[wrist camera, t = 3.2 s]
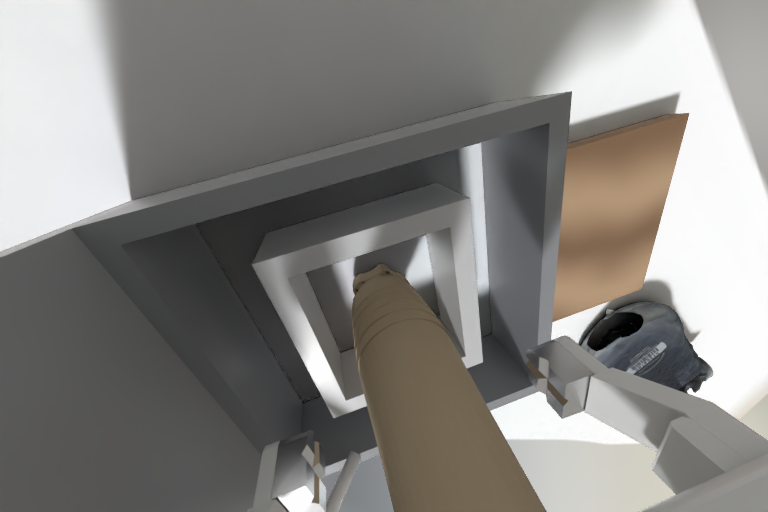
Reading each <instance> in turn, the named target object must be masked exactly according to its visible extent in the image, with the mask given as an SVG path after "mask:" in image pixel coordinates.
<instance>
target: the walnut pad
mask: <svg viewBox="0 0 768 512" xmlns="http://www.w3.org/2000/svg"><path fill="white" fill-rule="evenodd" d="M688 116H689V113H684V114H667V115H664V116H660V117H657V118H654V119H650V120H647V121H643V122H640V123H637V124H633V125H630V126H627V127H623V128H620V129H616V130H613V131H610V132H606V133H603V134H600V135H596V136H593V137H589V138H586V139H583V140H579V141H576V142H572V143H569V144H567V156H566V167H565V179H564V191H563V202H562V214H561V226H560V237H559V249H558V261H557V272H556V284H555V296H554V307H553V319H552V322H554V321H557V320H559V319H562V318H565V317H568V316H570V315H573V314H576V313H578V312H581V311H584V310H586V309H589V308H592V307H595V306H597V305H600V304H603V303H605V302H608V301H611V300H614V299H616V298H619V297H622V296H624V295H627V294H630V293H632V292H635V291H638V290H641V289H642V286H643V283H644V279H645V275H646V272H647V268H648V264H649V261H650V257H651V253H652V249H653V246H654V242H655V238H656V235H657V231H658V227H659V224H660V220H661V216H662V213H663V209H664V205H665V201H666V198H667V194H668V190H669V187H670V183H671V179H672V176H673V172H674V168H675V165H676V161H677V157H678V153H679V150H680V146H681V142H682V139H683V135H684V131H685V128H686V124H687V120H688Z"/></svg>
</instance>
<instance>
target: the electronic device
mask: <svg viewBox="0 0 768 512" xmlns="http://www.w3.org/2000/svg"><path fill="white" fill-rule="evenodd" d="M618 312H634V313H637V314H640V315H642V317H643V320H644V322H643V325H642V327H641V328H640V329H639V330H638V331H637V332H636V330H637V328H636V329H635V326H634V324H630V322H629V323H623V324H620V325H618V326H616V327H615V328H612V329H610V330H609V331H608V333H607V334H606V335H604V336H603V337H602V340H601V342H600V343H599V344H598V347H597V350H598V351H595V350H593V349H591V348H590V347H589V346H588V345H587V342H588V339H589V337H590V335H591V333H592V332H593V330H594V329H595V328H596V327H597V325H598V324H599V323H601V322H602V321H604V320H606V319H608V318H610V317H612V316H613V315H614V314H615V313H618ZM606 314H607V315H606V317H605V318H604V319H603V320H601V321H600V322H599V323H598V324H597V325H596V326H595V327H594V328H592V330H591V331H590V332H589V333H588V335H587V336H586V338H585V339H584V341H583V342H582V345H581V347H582V348H583V349H585V350H586V351H587V352H588V353H590V354H591V355H592V356H593V357H595V358H596V359H597V360H598V361H600V362H601V363H602V364H603V365H605V366H606V367H607V368H608V369H609V368H615V369H618V370H621V371H624V372H627V373H630V374H633V375H635V376H638V377H641V378H644V379H647V380H650V381H653V382H655V383H658V384H661V385H664V386H667V387H670V388H673V389H675V390H678V391H681V392H684V393H687V390H688V389H689V388H692V390H693V392H695V393H696V392H697V391H698V390H699V389H700V386H701V384H702V382H703V381H706V380H707V379H708V378H710V377H712V376H713V370H712V368H711V367H710V366H709V365H708V364H707V363H706V362H705V361H704V360H703V359H701V358H700V357H698V355H697V353H696V352H695V351H694V350H693V346H692V344H690V343H689V341H688V339H687V338H686V336H685V334H684V331H683V325H682V322H681V320H680V318H679V316H678V314H677V313H676V312H675V311H674V310H673V309H672V308H671V307H670V306H666V305H664V304H659V303H655V302H636V303H633V304H630V305H627V306H624V307H622V308H619V309H617V310H616V311H614V310H611V309H608V308H607V311H606ZM622 329H628V330H629V331H630V335H629V336H627V337H626V336H624V337H623V338H622V336H623V335H624V334H622V335H620V334H618V335H617V336H616V338H614V339H613V340H611V341H610V342H609V343H608V346H607V347H605V344H606V341H607V338H608V337H609V336H610V335H611V334H612V333H613V332H614V331H615V332H616V331H620V330H622ZM687 394H688V393H687Z"/></svg>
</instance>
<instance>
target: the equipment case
mask: <svg viewBox="0 0 768 512" xmlns="http://www.w3.org/2000/svg"><path fill="white" fill-rule="evenodd" d="M571 97H572V91H571V92H564V93H557V94H550V95H543V96H536V97H529V98H523V99H516V100H509V101H502V102H495V103H491V104H487V105H484V106H480V107H476V108H473V109H469V110H465V111H461V112H458V113H454V114H450V115H447V116H443V117H439V118H435V119H432V120H428V121H424V122H421V123H417V124H413V125H410V126H406V127H402V128H398V129H395V130H391V131H387V132H384V133H380V134H376V135H373V136H369V137H365V138H361V139H358V140H354V141H350V142H347V143H343V144H339V145H335V146H332V147H328V148H324V149H321V150H317V151H313V152H310V153H306V154H302V155H298V156H295V157H291V158H287V159H284V160H280V161H276V162H272V163H269V164H265V165H261V166H258V167H254V168H250V169H247V170H243V171H239V172H235V173H232V174H228V175H224V176H221V177H217V178H213V179H209V180H206V181H202V182H198V183H195V184H191V185H187V186H184V187H180V188H176V189H172V190H169V191H165V192H161V193H158V194H154V195H150V196H147V197H143V198H139V199H135V200H132V201H129V202H126V203H124V204H121V205H119V206H116V207H113V208H111V209H108V210H106V211H103V212H101V213H98V214H96V215H93V216H90V217H88V218H85V219H83V220H80V221H78V222H75V223H73V224H70V225H67V226H65V227H62V228H60V229H57V230H55V231H52V232H50V233H47V234H44V235H42V236H39V237H37V238H34V239H32V240H29V241H27V242H24V243H21V244H19V245H16V246H14V247H11V248H9V249H6V250H4V251H1V252H0V512H247V510H248V509H250V508H253V503H254V497H255V491H256V486H257V480H258V474H259V469H260V463H261V457H262V452H263V450H264V448H265V446H267V445H269V444H272V443H275V442H277V441H280V440H283V439H286V438H289V437H292V436H295V435H298V434H300V433H303V432H306V431H309V430H312V432H313V433H314V435H315V441H316V442H319V443H320V445H321V447H322V449H323V452H324V458H325V470H326V473H325V475H324V476H326V475H329V474H331V473H334V472H337V471H339V470H341V473H340V475H339V477H338V479H337V481H336V483H335V485H334V487H333V489H332V492H331V494H330V496H329V498H328V500H327V502H326V512H338V511H339V509H340V506H341V504H342V502H343V499H344V497H345V495H346V493H347V490H348V488H349V486H350V483H351V481H352V479H353V476H354V474H355V472H356V470H357V467H358V465H359V463H360V462H362V461H364V460H367V459H369V458H372V457H374V456H377V455H379V454H380V453H379V450H378V446H377V442H376V438H375V434H374V431H373V427H372V423H371V419H370V415H369V411H368V408H367V404H366V400H365V396H364V392H363V389H362V385H361V381H360V376H359V371H358V365H357V360H356V354H355V348H353V349H350V350H347V351H345V352H342V353H340V351H339V348H338V346H337V344H336V342H335V339H334V337H333V335H332V332H331V330H330V328H329V325H328V323H327V321H326V318H325V316H324V314H323V311H322V309H321V307H320V304H319V302H318V300H317V298H316V295H315V293H314V291H313V288H312V286H311V284H310V281H309V279H308V277H307V274H306V272H309V271H312V270H316V269H319V268H322V267H325V266H328V265H331V264H335V263H338V262H341V261H344V260H347V259H350V258H354V257H357V256H360V255H363V254H366V253H369V252H373V251H376V250H379V249H382V248H385V247H388V246H392V245H395V244H398V243H401V242H404V241H407V240H411V239H414V238H417V237H420V236H423V235H426V237H427V243H428V248H429V254H430V260H431V266H432V272H433V278H434V284H435V290H436V295H437V301H438V307H439V313H440V318H439V319H438V320H439V321H440V323H441V324H442V326H443V327H444V329H445V330H446V332H447V334H448V335H449V337H450V338H451V340H452V342H453V344H454V346H455V348H456V349H457V351H458V353H459V355H460V357H461V359H462V361H463V362H464V364H465V366H466V368H467V370H468V372H469V373H470V375H471V377H472V379H473V381H474V383H475V385H476V386H477V388H478V390H479V392H480V394H481V396H482V397H483V399H484V401H485V403H486V405H487V407H488V409H489V410H493V409H496V408H498V407H501V406H503V405H506V404H508V403H511V402H513V401H516V400H518V399H521V398H523V397H526V396H528V395H531V394H533V393H536V392H538V390H537V389H536V388H535V387H534V385H533V384H532V383H531V381H530V379H529V377H528V375H527V372H526V364H527V362H528V361H529V359H528V358H527V357H526V351H527V350H528V349H529V348H532V347H535V346H537V345H540V344H542V343H545V342H547V341H550V340H551V331H552V319H553V307H554V296H555V284H556V272H557V261H558V249H559V237H560V226H561V214H562V202H563V191H564V179H565V167H566V156H567V144H568V132H569V121H570V109H571ZM480 142H481V144H482V162H483V181H484V199H485V217H486V236H487V254H488V272H489V291H490V309H491V327H492V334H491V335H488V336H485V337H482V338H481V331H480V318H479V306H478V294H477V281H476V269H475V256H474V244H473V232H472V219H471V207H470V198H469V197H467V196H464V195H462V194H460V193H458V192H455V191H453V190H451V189H449V188H446V187H444V186H442V185H440V184H437V183H434V184H431V185H427V186H424V187H420V188H417V189H414V190H410V191H407V192H404V193H400V194H397V195H393V196H390V197H387V198H383V199H380V200H376V201H373V202H370V203H366V204H363V205H360V206H356V207H353V208H349V209H346V210H343V211H339V212H336V213H333V214H329V215H326V216H322V217H319V218H316V219H312V220H309V221H306V222H302V223H299V224H295V225H292V226H289V227H285V228H282V229H278V230H275V231H272V232H268V233H266V235H265V237H264V239H263V241H262V243H261V245H260V247H259V250H258V252H257V254H256V256H255V258H254V260H253V262H252V267H253V269H254V270H255V272H256V274H257V276H258V278H259V280H260V282H261V284H262V285H263V287H264V289H265V291H266V293H267V295H268V297H269V298H270V300H271V302H272V304H273V306H274V308H275V310H276V312H277V313H278V315H279V317H280V319H281V321H282V323H283V325H284V327H285V328H286V330H287V332H288V334H289V336H290V338H291V340H292V341H293V343H294V345H295V347H296V349H297V351H298V353H299V355H300V356H301V358H302V360H303V362H304V364H305V366H306V368H307V369H308V371H309V373H310V375H311V377H312V379H313V381H314V383H315V384H316V386H317V388H318V390H319V392H320V394H321V397H318V398H315V399H313V400H310V401H307V402H304V403H302V401H301V400H300V398H299V396H298V395H297V393H296V391H295V390H294V388H293V386H292V385H291V383H290V381H289V380H288V378H287V376H286V375H285V373H284V371H283V370H282V368H281V366H280V365H279V363H278V361H277V360H276V358H275V356H274V355H273V353H272V351H271V350H270V348H269V346H268V345H267V343H266V341H265V340H264V338H263V336H262V335H261V333H260V331H259V330H258V328H257V326H256V325H255V323H254V321H253V320H252V318H251V316H250V315H249V313H248V311H247V310H246V308H245V306H244V305H243V303H242V301H241V300H240V298H239V296H238V295H237V293H236V291H235V290H234V288H233V286H232V285H231V283H230V281H229V280H228V278H227V276H226V275H225V273H224V271H223V270H222V268H221V266H220V265H219V263H218V261H217V260H216V258H215V256H214V255H213V253H212V251H211V250H210V248H209V246H208V245H207V243H206V241H205V240H204V238H203V236H202V235H201V233H200V231H199V230H198V228H197V226H196V225H195V224H196V223H200V222H203V221H207V220H210V219H214V218H217V217H221V216H224V215H228V214H231V213H235V212H238V211H242V210H245V209H249V208H252V207H256V206H259V205H263V204H266V203H270V202H273V201H277V200H280V199H284V198H287V197H291V196H294V195H298V194H301V193H305V192H308V191H312V190H315V189H319V188H322V187H326V186H329V185H333V184H336V183H340V182H343V181H347V180H351V179H354V178H358V177H361V176H365V175H368V174H372V173H375V172H379V171H382V170H386V169H389V168H393V167H396V166H400V165H403V164H407V163H410V162H414V161H417V160H421V159H424V158H428V157H431V156H435V155H438V154H442V153H445V152H449V151H452V150H456V149H459V148H463V147H466V146H470V145H473V144H477V143H480Z"/></svg>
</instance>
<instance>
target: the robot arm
mask: <svg viewBox="0 0 768 512" xmlns="http://www.w3.org/2000/svg"><path fill="white" fill-rule="evenodd" d="M526 357H527V358H528V359H529V361H528V362H527V364H526V372H527V375H528V377H529V379H530V381H531V383H532V384H533V385H534V387H535V388H536V389H537V390H538V391H540V392H542V393H544V394H546V397H547V402H548V403H549V404H550V405H551V407H552V408H553V409H554V410H555V411H556V412H557V414H558V415H559V416H560V417H561V418H562V419H563V418H565V417H568V416H571V415H574V414H576V413H579V412H582V411H585V413H587V414H589V415H591V416H593V417H594V418H596V419H598V420H600V421H602V422H603V423H605V424H607V425H609V426H611V427H612V428H614V429H616V430H618V431H620V432H621V433H623V434H625V435H627V436H628V437H630V438H632V439H634V440H636V441H637V442H639V443H641V444H643V445H645V446H646V447H648V448H650V449H652V450H654V451H655V452H657V454H656V457H655V459H654V461H653V463H652V469H653V471H654V472H655V474H656V475H658V477H659V478H660V479H661V480H662V481H663V482H664V483H665V484H666V485H667V486H668V487H669V488H670V489H671V490H672V491H673V492H674V493H675V494H676V495H674V496H672V497H670V498H667V499H665V500H663V501H661V502H659V503H657V504H654V505H652V506H650V507H648V508H645V509H643V510H641V511H639V512H768V440H766V439H765V438H763V437H762V436H761V435H759V434H758V433H756V432H755V431H753V430H752V429H750V428H749V427H747V426H746V425H744V424H743V423H742V422H740V421H739V420H737V419H736V418H734V417H733V416H731V415H730V414H728V413H727V412H726V411H724V410H723V409H721V408H720V407H718V406H717V405H715V404H714V403H712V402H710V401H707V400H704V399H701V398H698V397H695V396H693V395H690V394H687V393H684V392H681V391H678V390H675V389H673V388H670V387H667V386H664V385H661V384H658V383H655V382H653V381H650V380H647V379H644V378H641V377H638V376H635V375H633V374H630V373H627V372H624V371H621V370H618V369H615V368H609V369H608V368H607V367H606V366H605V365H603V364H602V363H601V362H600V361H598V360H597V359H596V358H595V357H593V356H592V355H591V354H590V353H588V352H587V351H586V350H585V349H583V348H582V347H581V346H580V345H578V344H577V343H576V342H575V341H574V340H572V339H571V338H570V337H568V336H561V337H559V338H556V339H554V340H550V341H547V342H545V343H542V344H540V345H537V346H535V347H532V348H529V349H528V350H527V351H526ZM325 473H326V470H325V458H324V452H323V449H322V447H321V445H320V443H319V442H316V441H315V435H314V433H313V432H312V430H309V431H306V432H303V433H300V434H298V435H295V436H292V437H289V438H286V439H283V440H280V441H277V442H275V443H272V444H269V445H267V446H265V448H264V450H263V452H262V457H261V463H260V469H259V474H258V480H257V486H256V491H255V497H254V503H253V508H250V509H248V510H247V512H326V488H325V486H324V485H323V483H322V482H321V481H322V479H323V477H324V475H325Z"/></svg>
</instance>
